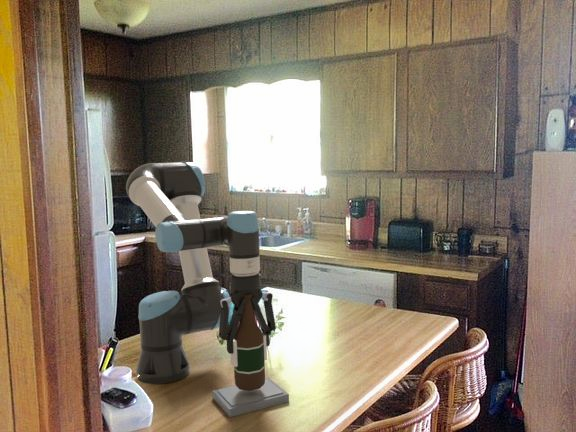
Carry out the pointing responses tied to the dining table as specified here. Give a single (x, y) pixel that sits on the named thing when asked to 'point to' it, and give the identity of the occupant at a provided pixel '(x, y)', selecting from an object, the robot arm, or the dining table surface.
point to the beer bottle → (249, 351)
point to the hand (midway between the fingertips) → (249, 361)
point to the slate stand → (249, 398)
